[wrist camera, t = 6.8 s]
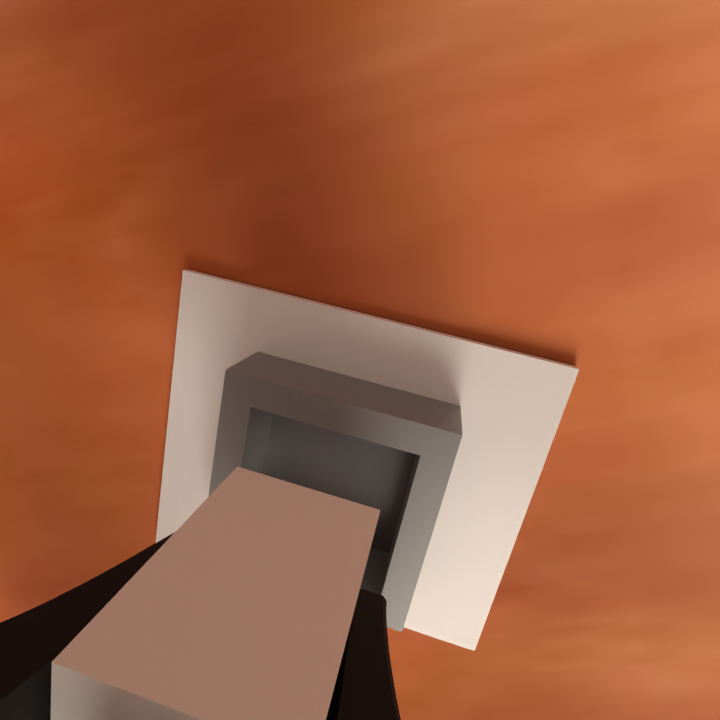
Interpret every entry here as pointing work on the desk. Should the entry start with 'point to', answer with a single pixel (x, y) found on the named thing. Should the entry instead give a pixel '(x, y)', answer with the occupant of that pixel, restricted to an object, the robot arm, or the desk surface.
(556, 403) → the socket dock
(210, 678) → the block
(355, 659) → the robot arm
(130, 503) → the desk surface
